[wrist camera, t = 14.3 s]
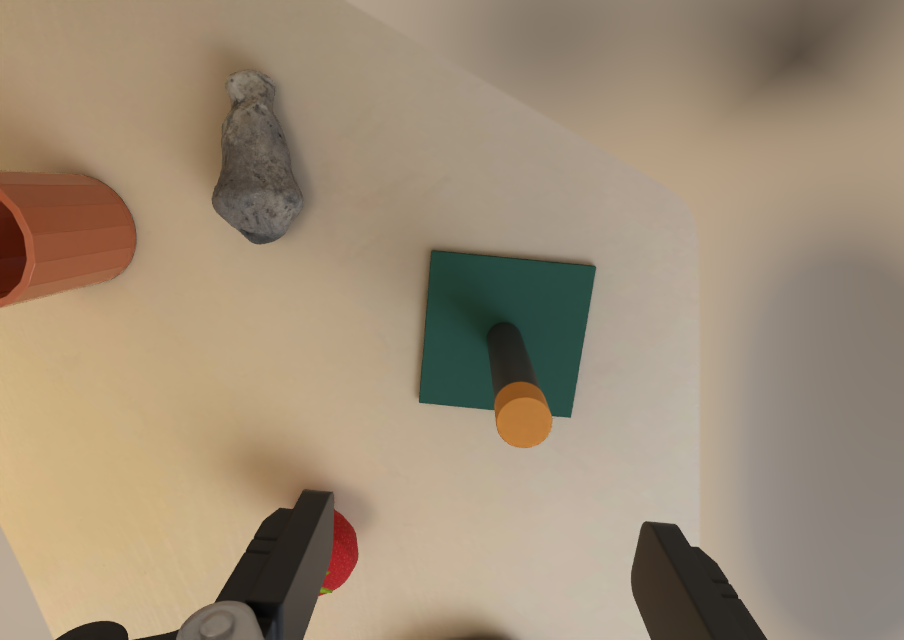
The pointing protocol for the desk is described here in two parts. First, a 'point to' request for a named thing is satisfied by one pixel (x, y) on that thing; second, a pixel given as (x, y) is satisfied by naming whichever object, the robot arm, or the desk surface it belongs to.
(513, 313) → the mat
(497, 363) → the marker
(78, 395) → the desk surface
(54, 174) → the pen cup
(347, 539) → the strawberry
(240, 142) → the stone
